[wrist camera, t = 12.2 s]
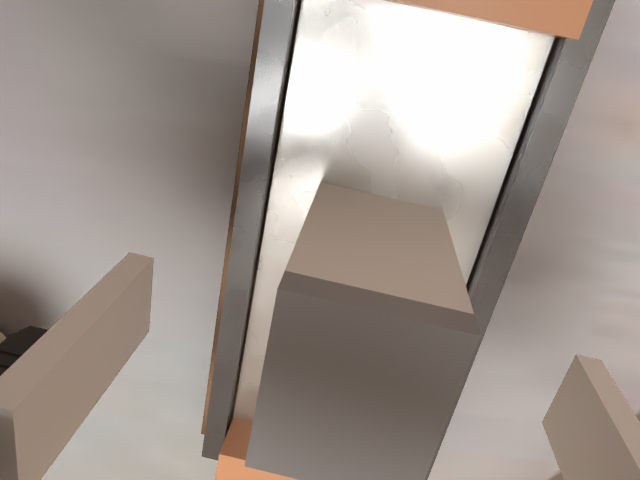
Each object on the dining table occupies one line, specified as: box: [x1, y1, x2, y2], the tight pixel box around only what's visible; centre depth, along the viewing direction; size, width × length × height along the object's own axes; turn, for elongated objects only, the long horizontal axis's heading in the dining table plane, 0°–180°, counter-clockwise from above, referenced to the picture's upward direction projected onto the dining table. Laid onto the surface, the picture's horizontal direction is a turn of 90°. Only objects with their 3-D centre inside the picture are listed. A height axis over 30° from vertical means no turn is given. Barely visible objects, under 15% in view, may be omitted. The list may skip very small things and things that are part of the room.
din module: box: [245, 182, 481, 480], centre depth 18 cm, size 6×5×9 cm
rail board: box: [201, 0, 615, 480], centre depth 22 cm, size 24×12×4 cm, turn 169°
